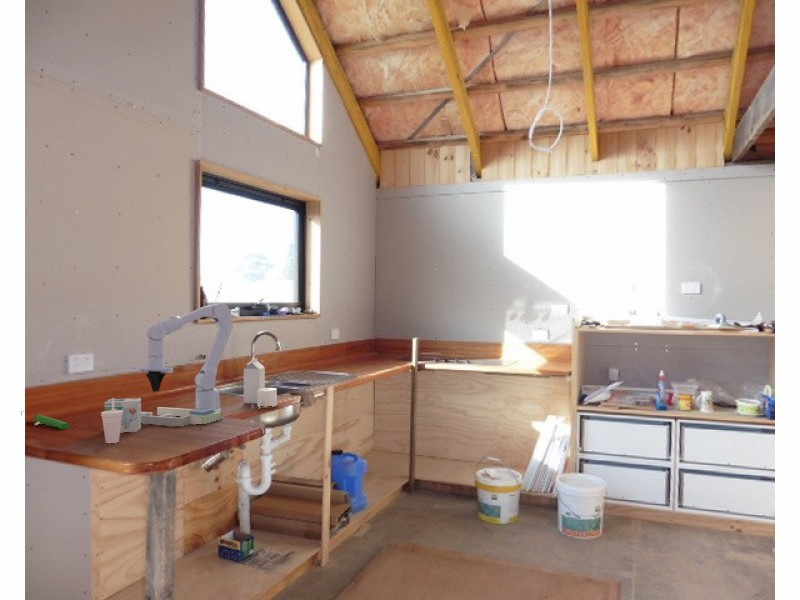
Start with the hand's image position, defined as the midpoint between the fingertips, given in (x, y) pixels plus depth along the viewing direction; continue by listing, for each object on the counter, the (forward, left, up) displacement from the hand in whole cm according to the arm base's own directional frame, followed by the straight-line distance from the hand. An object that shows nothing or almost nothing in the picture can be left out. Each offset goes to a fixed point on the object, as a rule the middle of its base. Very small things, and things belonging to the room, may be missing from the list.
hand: (155, 391), depth 224 cm
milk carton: (-39, +19, -10) cm, 45 cm away
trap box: (+4, +12, -10) cm, 16 cm away
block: (+2, +23, -10) cm, 25 cm away
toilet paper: (-32, +28, -10) cm, 44 cm away
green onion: (+24, -30, -10) cm, 39 cm away
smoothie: (+37, +15, -10) cm, 41 cm away
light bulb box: (+23, +6, -10) cm, 26 cm away
